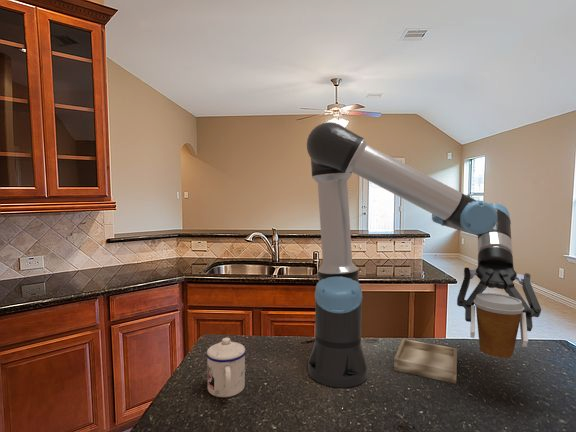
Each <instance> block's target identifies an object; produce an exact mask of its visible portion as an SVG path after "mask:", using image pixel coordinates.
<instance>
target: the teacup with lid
mask: <svg viewBox="0 0 576 432" xmlns="http://www.w3.org/2000/svg"><path fill="white" fill-rule="evenodd" d="M246 352H247V351H246V347H245V346H244V345H243V344H242V343H239V342H236V341H232V340H231V338H230V337H223V338H222V339H221V341H220V342H217V343H215V344H212V345H211V346H210V347H209V348H207V351H206V355H205V356H206V357H207V359H206V360H207V367H206V368H207V369H206V370H207V375H206V376H207V391H208V393H210V394H211V395H212V396H214V397H217V398H229V397H233V396H236V395H238V394H240V393H241V392H242V391H243V390H244V389H245V386H246V384H245V383H246V376H245V375H246V360H245V359H246V356H245V355H246Z"/></svg>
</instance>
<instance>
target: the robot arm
mask: <svg viewBox="0 0 576 432" xmlns="http://www.w3.org/2000/svg"><path fill="white" fill-rule="evenodd" d="M306 140H307V141H306V151H307V153H308V156H309V158H310V166H311V178H312V179H313V180H314V181H315V182H316V183H317V192H318V193H317V194H318V195H317V196H318V209H319V223H320V225H319V226H320V240H321V252H322V253H321V255H322V264H321V266H320V267H319V268H318V269H317V272H318V282H317V283H316V285H315V291H314V299H315V305H314V306H315V311H314V314H315V317H314V319H315V321H314V322H315V323H314V326H315V327H314V331H315V332H314V333H315V336H314V344H313V346H312V349H311V352H310V355H309V358H308V362H307V373H308V376H310V377H311V379H312V380H314V381H316V382H317V383H319V384H321V385H323V386H328V387H332V388H352V387H356V386H359V385H361V384H364V382H365V381H367V379H368V377H369V376H368V375H369V373H368V372H369V368H368V366H369V365H368V362H367V359H366V356H365V353H364V350H363V346H362V301H363V291H362V286H361V285H360V281H359V267H358V266H356V265H355V263H353V254H352V252H353V251H352V237H351V234H352V233H351V221H350V205H349V203H350V202H349V191H348V190H349V189H348V188H349V187H348V180H349V179H350V178H351V176H352V175H353V174H355V175H357V176H358V177H361V178H363V179H365V180H366V181H368V182H370V183H372V184H374V185H376V186H378V187H380V188H382V189H384V190H386V191H387V192H389V193H391V194H394V195H395V196H397V197H399V198H401V199H403V200H405V201H407V202H409V203H411V204H413V205H414V206H417V207H419V208H421V209H422V210H425V211H426V212H429V213H430V214H431V220H432V222H433V223H436V224H438V225H440V226H443V227H447V228H451V229H454V230H457V231H461V232H464V233H468V234H472V235H475V236H477V253H478V254H477V267H476V269H470V268H469V267H464V269H463V280H462V283H461V286H460V289H459V292H458V295H457V299H456V305H457V306H458V307H462V308H464V309H465V311H464V320H465V322H467V323H469V322H470V338H472V339H475V335H476V306H475V303H474V299H475V298H476V295H477V294H480V293H484V291H485V290H487V288H489V289H490V288H491V289H494V288H495V289H498V290H499V289H500V290H503V291H504V292H505V293H506V294H508V296H511V297H514V298H517V299H519V300H521V301H522V305H523V307H524V310H523V312H522V313H521V318H520V323H519V328H520V340H521V341H520V342H521V347H525V348H527V345H528V342H529V338H528V336H529V335H528V332H531V331H532V329H533V318H538V317H540V316H541V311H542V308H541V305H540V302H539V300H538V298H537V295H536V293H535V291H534V288H533V286H532V283H531V274H530V273H527V272H525V273H524V274H521V273H517V272H516V271H515V267H514V258H513V257H514V255H513V246H512V243H513V242H512V232H511V228H512V227H511V224H512V223H511V217H510V213H509V210H508V208H507V207H506V206H505V205H503V204H500V203H497V202H496V203H495V202H494V203H491V202H490V203H489V202H486V201H484V200H478V199H477V200H476V199H474V198H473V197H470V196H468V195H467V194H464V193H462V192H460V191H459V190H457V189H455V188H453V187H451V186H448V185H447V184H445V183H443V182H441V181H439V180H437V179H435V178H433V177H431V176H429V175H428V174H425V173H424V172H421V171H420V170H417V169H416V168H414V167H412V166H410V165H408V164H406V163H404V162H402V161H399V160H398V159H396V158H395V157H392V156H390V155H388V154H386V153H384V152H382V151H380V150H379V149H376V148H374V147H373V146H371V145H368V144H367V140H366V138H364V137H362V136H360V135H358V134H356V133H355V132H353V131H352V130H349V129H348V128H346V127H344V126H343V125H341V124H339V123H337V122H331V121H329V122H327V121H326V122H323V123H321V124H318V125H317V126H315V127H313V129H312V130H311V131H310V132H309V134H308V137H307V139H306ZM474 276H476V277H477V278H478V279H479V282H478V284H477V285H476V287H475V288H474V289H473V290H472V292H471V293H470V295H469V296H468V297H467V299H465V298H466V295H467V292H468V289H469V286H470V283H471V280H473V278H474ZM515 280H516V281H518V283H519V284H520V286H521V288H522V290H523V293H524V296H525V298H526V300H525V299H524V298H523V296H522V295H521V293H520V292H519V291H518V289H517V288H516V287H515V284H514V282H515ZM526 301H527V302H526Z"/></svg>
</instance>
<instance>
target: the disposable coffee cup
mask: <svg viewBox="0 0 576 432" xmlns="http://www.w3.org/2000/svg"><path fill="white" fill-rule="evenodd" d="M474 303H475V304H474V306H475V314H476V321H477V322H476V323H477V333H478V344H479V350H480V351H481V352H483V353H484V354H487V355H488V356H492V357H495V358H501V359H502V358H503V359H508V358H509V359H510V358H512V357H513V356H514V351H515V346H516V342H517V341H516V340H517V336H518V332H519V328H520V318H521V313H522V312H523V310H524V307H523V305H522V301H521V300H519V299H517V298H514V297H511V296H509V295H506V294H500V293H492V292H491V293H490V292H488V293H487V292H482V293H480V294H477V295H476V298H475V299H474Z"/></svg>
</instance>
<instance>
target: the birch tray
mask: <svg viewBox="0 0 576 432" xmlns="http://www.w3.org/2000/svg"><path fill="white" fill-rule="evenodd" d="M457 366H458V348H456V347H450V346H446V345H445V346H444V345H439V344H434V343H429V342H423V341H417V340H410V339H406V338H401V342H400V344H399V346H398V348H397V352H396V353H395V355H394V358H393V371H396V372H400V373H405V374H409V375H414V376H418V377H422V378H427V379H433V380H437V381H439V382H445V383H450V384H454V385H457V377H458V376H457V373H458V372H457V371H458V370H457V369H458V367H457Z"/></svg>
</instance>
